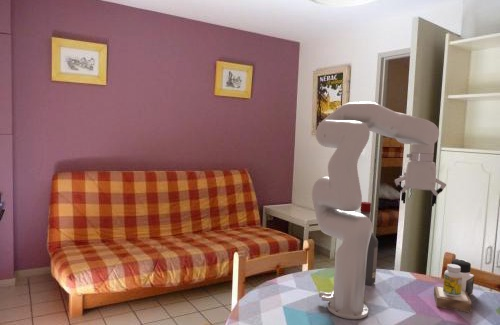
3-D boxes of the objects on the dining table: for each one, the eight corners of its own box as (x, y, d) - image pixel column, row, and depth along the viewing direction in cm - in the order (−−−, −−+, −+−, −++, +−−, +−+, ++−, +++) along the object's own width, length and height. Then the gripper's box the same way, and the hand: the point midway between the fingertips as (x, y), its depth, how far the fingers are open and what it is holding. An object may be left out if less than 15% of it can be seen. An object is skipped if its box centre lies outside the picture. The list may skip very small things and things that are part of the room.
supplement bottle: (463, 295, 130) (466, 267, 129) (455, 298, 127) (457, 270, 126) (448, 288, 134) (450, 262, 133) (439, 292, 131) (441, 264, 130)
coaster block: (436, 306, 128) (437, 296, 127) (433, 294, 137) (434, 285, 137) (470, 312, 124) (471, 302, 124) (465, 299, 134) (466, 290, 133)
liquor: (352, 285, 142) (357, 205, 139) (345, 275, 151) (350, 199, 148) (376, 286, 142) (382, 205, 139) (368, 276, 151) (374, 200, 148)
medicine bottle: (465, 299, 134) (468, 266, 132) (443, 292, 139) (446, 260, 138) (472, 294, 138) (475, 261, 137) (451, 287, 144) (454, 255, 143)
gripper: (396, 157, 141) (393, 203, 142) (449, 160, 135) (445, 208, 136) (396, 155, 148) (393, 200, 149) (446, 158, 142) (442, 204, 143)
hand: (418, 204), depth 143 cm, fingers open, 9 cm apart
